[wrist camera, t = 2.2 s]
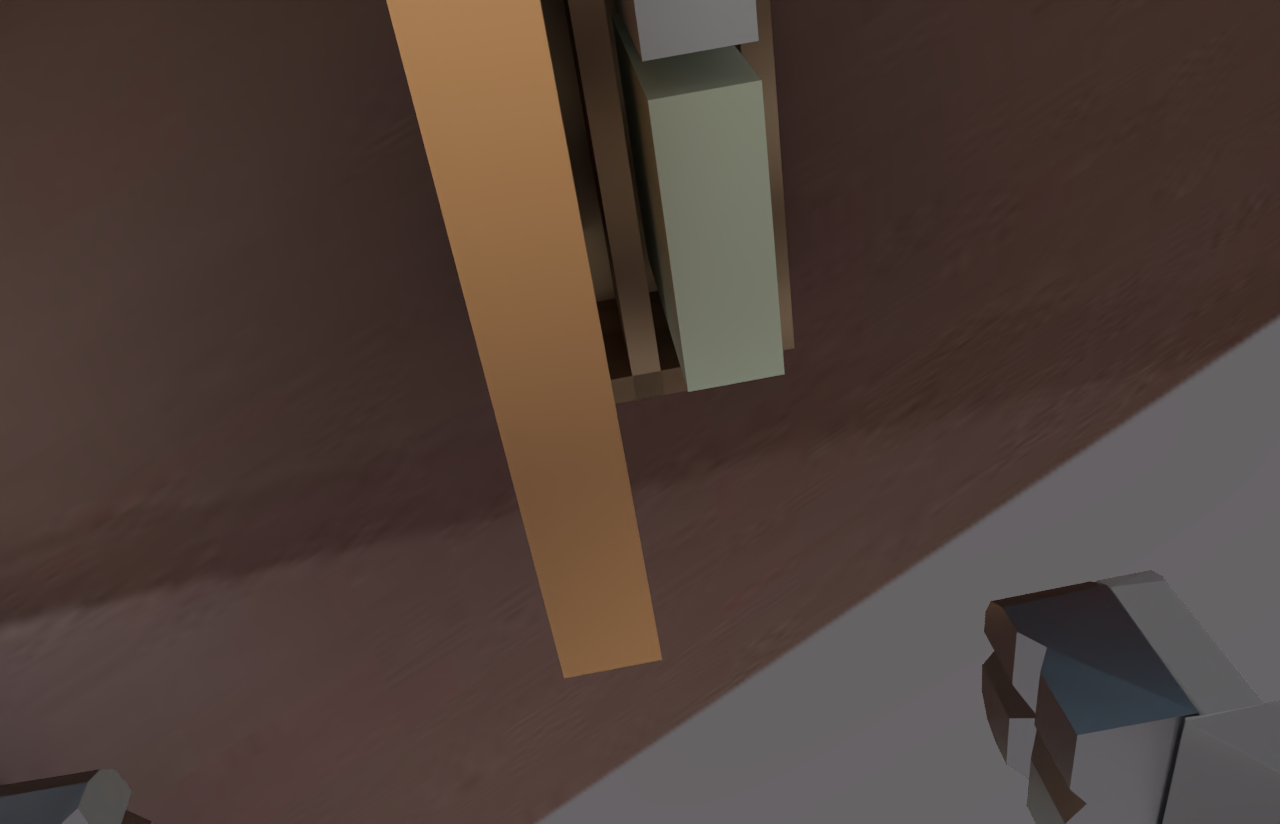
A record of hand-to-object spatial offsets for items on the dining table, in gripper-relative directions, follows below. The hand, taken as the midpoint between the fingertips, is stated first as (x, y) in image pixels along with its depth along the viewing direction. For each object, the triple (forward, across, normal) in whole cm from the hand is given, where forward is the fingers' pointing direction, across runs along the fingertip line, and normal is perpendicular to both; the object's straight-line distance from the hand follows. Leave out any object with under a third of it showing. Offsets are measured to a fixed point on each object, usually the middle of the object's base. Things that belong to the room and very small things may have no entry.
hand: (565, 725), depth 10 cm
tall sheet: (+30, 0, 0) cm, 30 cm away
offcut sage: (+30, +5, -5) cm, 31 cm away
